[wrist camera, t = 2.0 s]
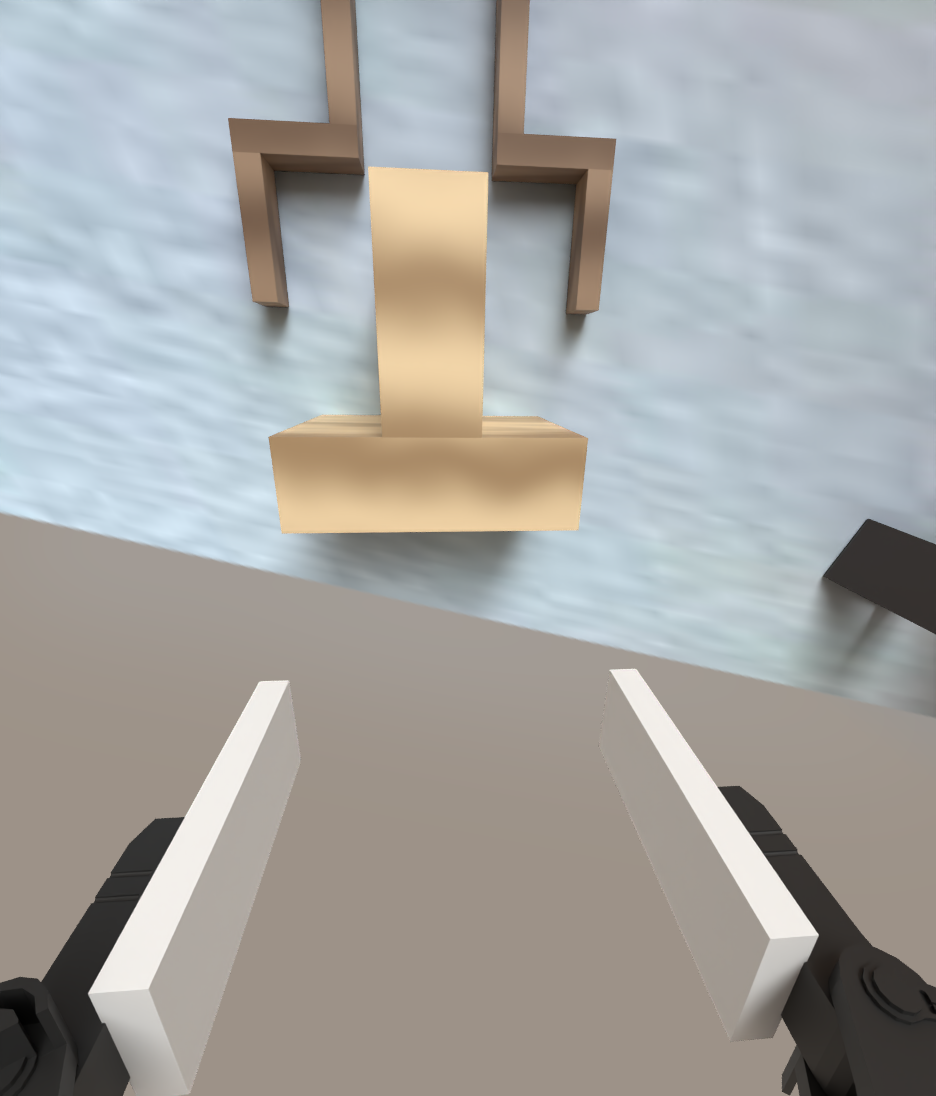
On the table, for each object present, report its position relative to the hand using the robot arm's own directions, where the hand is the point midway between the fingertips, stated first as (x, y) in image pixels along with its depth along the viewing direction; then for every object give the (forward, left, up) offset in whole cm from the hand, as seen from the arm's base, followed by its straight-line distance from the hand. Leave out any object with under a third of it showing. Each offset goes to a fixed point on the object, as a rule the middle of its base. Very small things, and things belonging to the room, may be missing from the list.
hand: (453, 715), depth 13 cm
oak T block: (+8, -4, -25) cm, 27 cm away
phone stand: (-26, -31, -26) cm, 48 cm away
